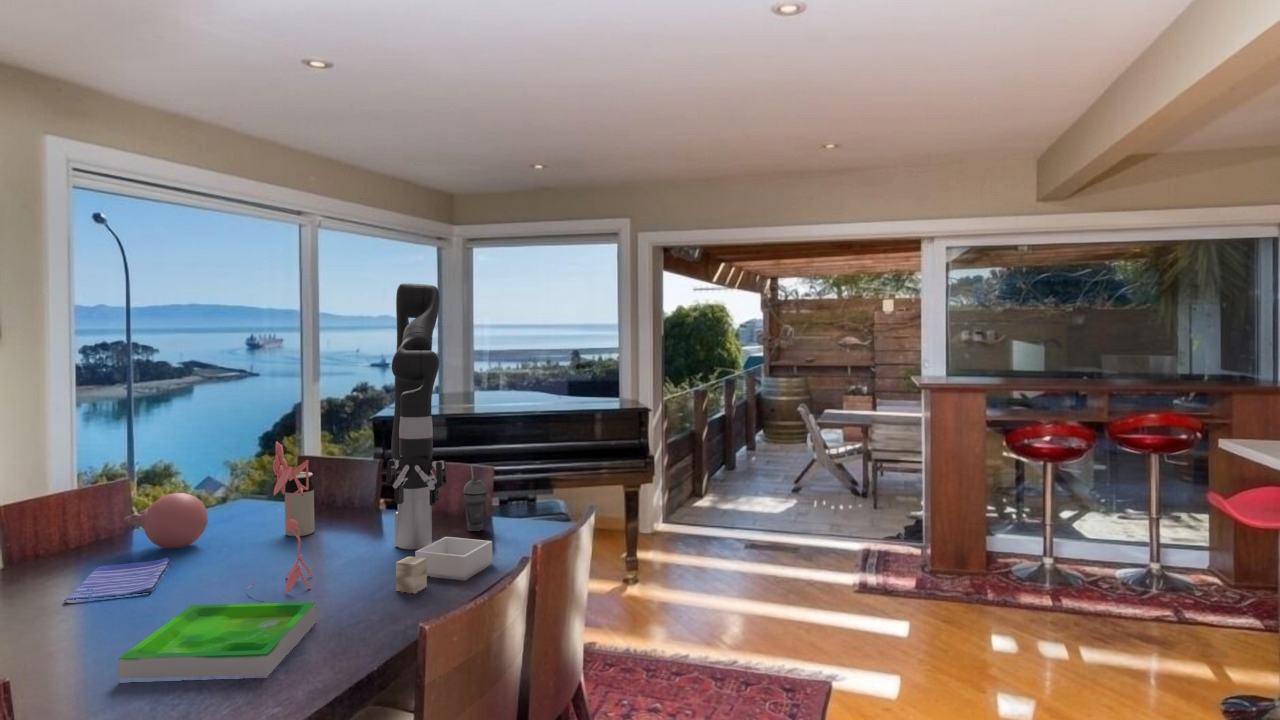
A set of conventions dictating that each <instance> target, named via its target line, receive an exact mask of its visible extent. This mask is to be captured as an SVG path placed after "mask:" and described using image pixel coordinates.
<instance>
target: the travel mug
mask: <svg viewBox="0 0 1280 720" xmlns="http://www.w3.org/2000/svg"><path fill="white" fill-rule="evenodd" d="M313 475H314V474H313V473H312V472H310V471H308V479H309V489H308V490H306V489H304V490H303V496H301V494H300V492H298V493H296V494H295V495H294V496H292V497H291V498H289V508H290V519H294V520H296V521H297V523H298V527H297V528H299V529H300V537H306V536H309V535H312V534H313V533H314V532H315V488H314V487H315V486H314V482H313V480H312V478H313ZM289 478H290V477H289ZM296 478H297V479H298V480H299V482H300V483H301V484H302V485H303V486H305V487H306V471H301V472H300V473H299V474H298V475H297V476H296ZM297 490H299V489H298V487H297V484H296V482H295V480H294V479H292V480H291V481H289V479H288V481H287V482H286V484H285V493H284V511H285V512H284V515H285V516H284V524H285V525H284V527H285V528H284V530H285V533H284V534H285V535H286V536H288V537H293V538H295V537H296V536H295V535H294V534H293V532H292V531H289V530H288V529H287V528H286V523H287V521H288V520H289V518H288V510H287V502H286V499H287V497H288V496H290V495H291V494H293V493H294V492H296V491H297ZM293 531H294V532H295V533H296V535H297V536H298V529H295V530H293ZM296 538H297V537H296Z"/></svg>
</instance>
